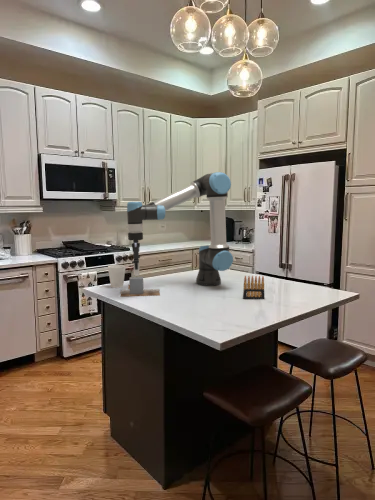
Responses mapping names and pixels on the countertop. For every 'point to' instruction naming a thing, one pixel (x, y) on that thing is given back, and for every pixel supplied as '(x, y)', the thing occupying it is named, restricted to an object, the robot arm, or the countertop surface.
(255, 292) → the ammunition clip
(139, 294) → the board
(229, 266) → the robot arm
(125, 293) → the brown wooden bar
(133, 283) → the module
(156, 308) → the countertop surface
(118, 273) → the foam cup
